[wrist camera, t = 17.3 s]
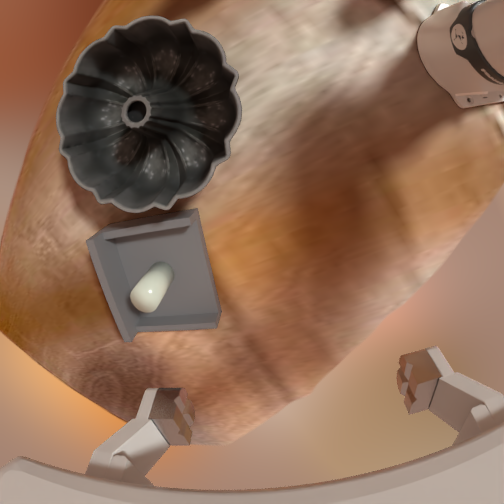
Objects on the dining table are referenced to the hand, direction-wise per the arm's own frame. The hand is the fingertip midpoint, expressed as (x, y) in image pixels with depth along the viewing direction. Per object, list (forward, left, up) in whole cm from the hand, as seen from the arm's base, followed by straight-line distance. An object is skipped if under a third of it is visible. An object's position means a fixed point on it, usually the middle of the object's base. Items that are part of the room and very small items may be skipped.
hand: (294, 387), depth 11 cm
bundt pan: (+16, -14, -39) cm, 44 cm away
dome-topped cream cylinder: (+21, +11, -37) cm, 44 cm away
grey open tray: (+21, +11, -39) cm, 45 cm away
